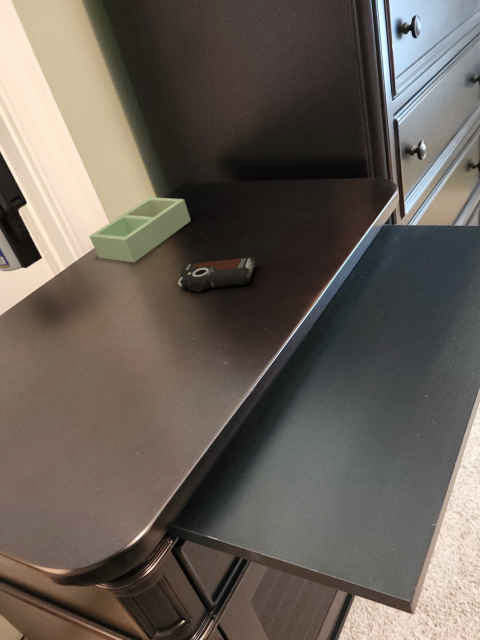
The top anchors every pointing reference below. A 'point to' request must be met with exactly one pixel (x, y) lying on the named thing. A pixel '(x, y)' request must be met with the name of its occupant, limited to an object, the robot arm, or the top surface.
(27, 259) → the robot arm
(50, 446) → the top surface
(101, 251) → the divided box
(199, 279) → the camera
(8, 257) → the pill bottle
